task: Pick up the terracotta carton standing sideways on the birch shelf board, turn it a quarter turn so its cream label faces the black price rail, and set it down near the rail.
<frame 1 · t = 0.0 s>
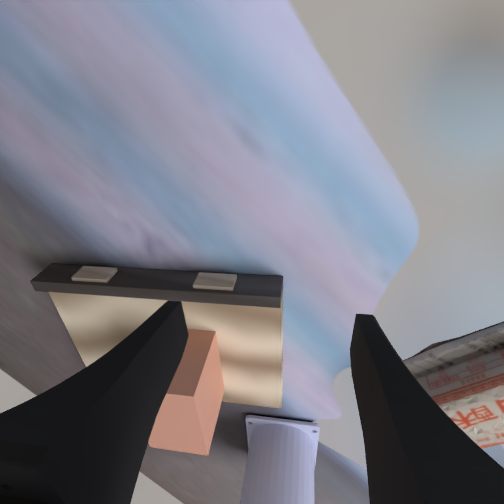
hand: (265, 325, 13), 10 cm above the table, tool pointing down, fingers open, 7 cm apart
packaged product: (482, 366, 27), on the table
carton: (194, 360, 29), point 1 cm above the table, touching shelf board
shelf board: (177, 338, 30), on the table
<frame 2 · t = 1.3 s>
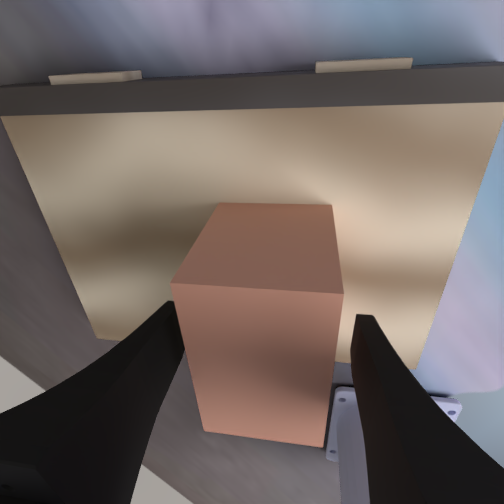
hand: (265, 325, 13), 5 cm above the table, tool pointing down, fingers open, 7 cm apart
carton: (274, 276, 16), point 1 cm above the table, touching shelf board
shelf board: (240, 243, 17), on the table
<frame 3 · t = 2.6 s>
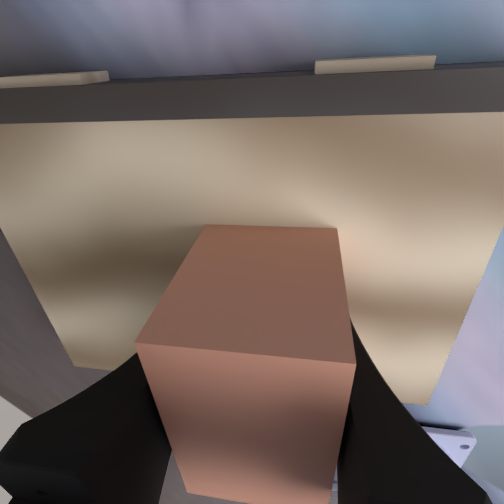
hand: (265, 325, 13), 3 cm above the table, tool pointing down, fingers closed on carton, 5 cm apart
carton: (270, 305, 14), point 2 cm above the table, touching gripper, shelf board
shelf board: (230, 265, 15), on the table
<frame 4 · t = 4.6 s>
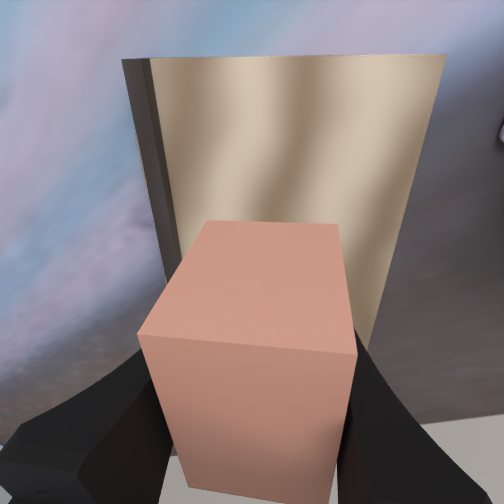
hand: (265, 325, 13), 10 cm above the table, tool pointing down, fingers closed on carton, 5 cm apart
carton: (271, 301, 14), point 8 cm above the table, touching gripper
shelf board: (282, 227, 22), on the table
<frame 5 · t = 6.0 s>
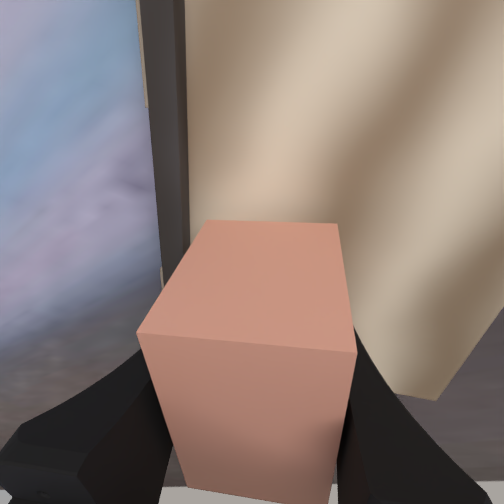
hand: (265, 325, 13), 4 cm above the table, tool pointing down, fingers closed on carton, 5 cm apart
carton: (271, 301, 14), point 3 cm above the table, touching gripper
shelf board: (353, 208, 14), on the table
when the fingers open (4 cm above the table, at t = 7.0 s): carton stays where it is, resting on shelf board.
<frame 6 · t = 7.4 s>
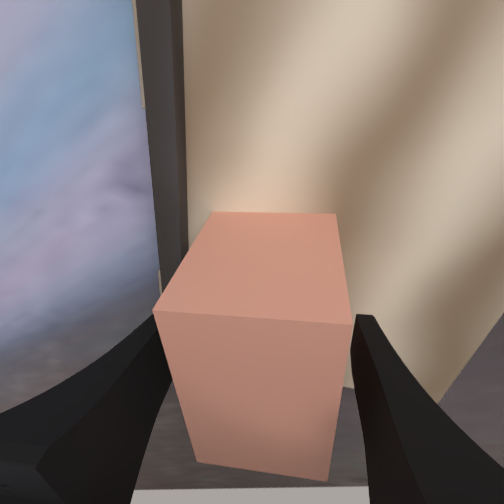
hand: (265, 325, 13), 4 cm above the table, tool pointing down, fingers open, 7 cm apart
carton: (273, 289, 15), point 1 cm above the table, touching shelf board
shelf board: (353, 210, 14), on the table
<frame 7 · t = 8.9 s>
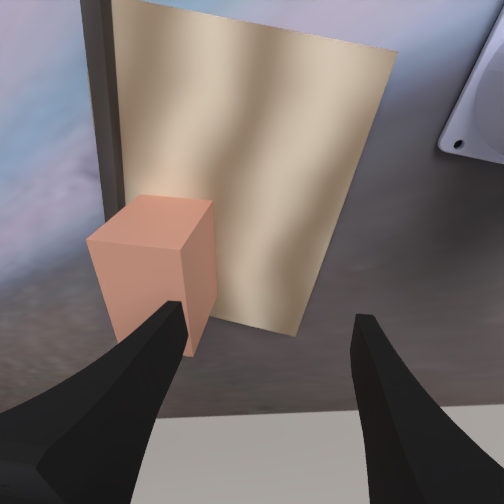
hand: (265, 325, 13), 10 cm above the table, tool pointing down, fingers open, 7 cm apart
carton: (181, 248, 23), point 1 cm above the table, touching shelf board
shelf board: (231, 200, 22), on the table
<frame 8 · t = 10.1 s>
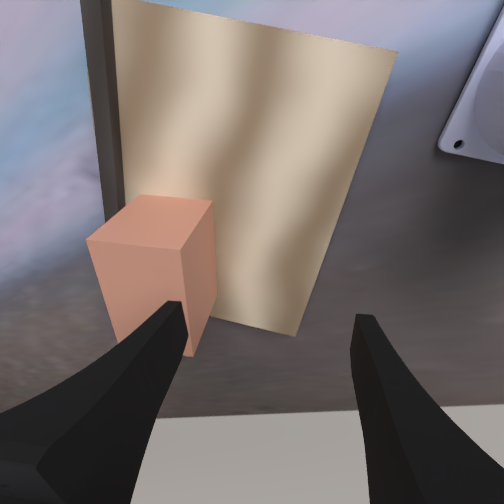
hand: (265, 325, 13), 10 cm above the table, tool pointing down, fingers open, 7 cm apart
carton: (181, 248, 23), point 1 cm above the table, touching shelf board
shelf board: (231, 200, 22), on the table
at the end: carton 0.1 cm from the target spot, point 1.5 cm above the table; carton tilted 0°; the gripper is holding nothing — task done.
